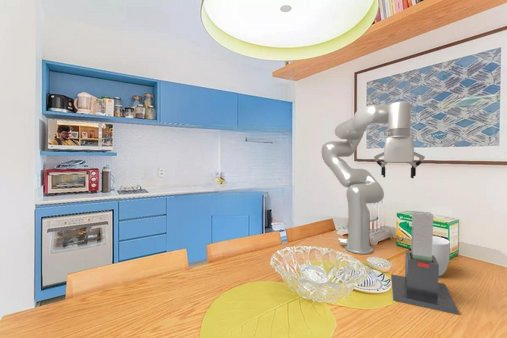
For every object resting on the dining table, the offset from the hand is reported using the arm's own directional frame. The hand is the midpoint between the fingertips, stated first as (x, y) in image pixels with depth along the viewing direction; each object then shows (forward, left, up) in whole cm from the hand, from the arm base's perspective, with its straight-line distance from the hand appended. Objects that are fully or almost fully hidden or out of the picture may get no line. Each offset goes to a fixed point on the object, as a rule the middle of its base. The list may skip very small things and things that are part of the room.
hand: (397, 177), depth 100 cm
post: (+6, -19, -30) cm, 36 cm away
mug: (+11, 0, -36) cm, 38 cm away
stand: (+6, -19, -36) cm, 41 cm away
